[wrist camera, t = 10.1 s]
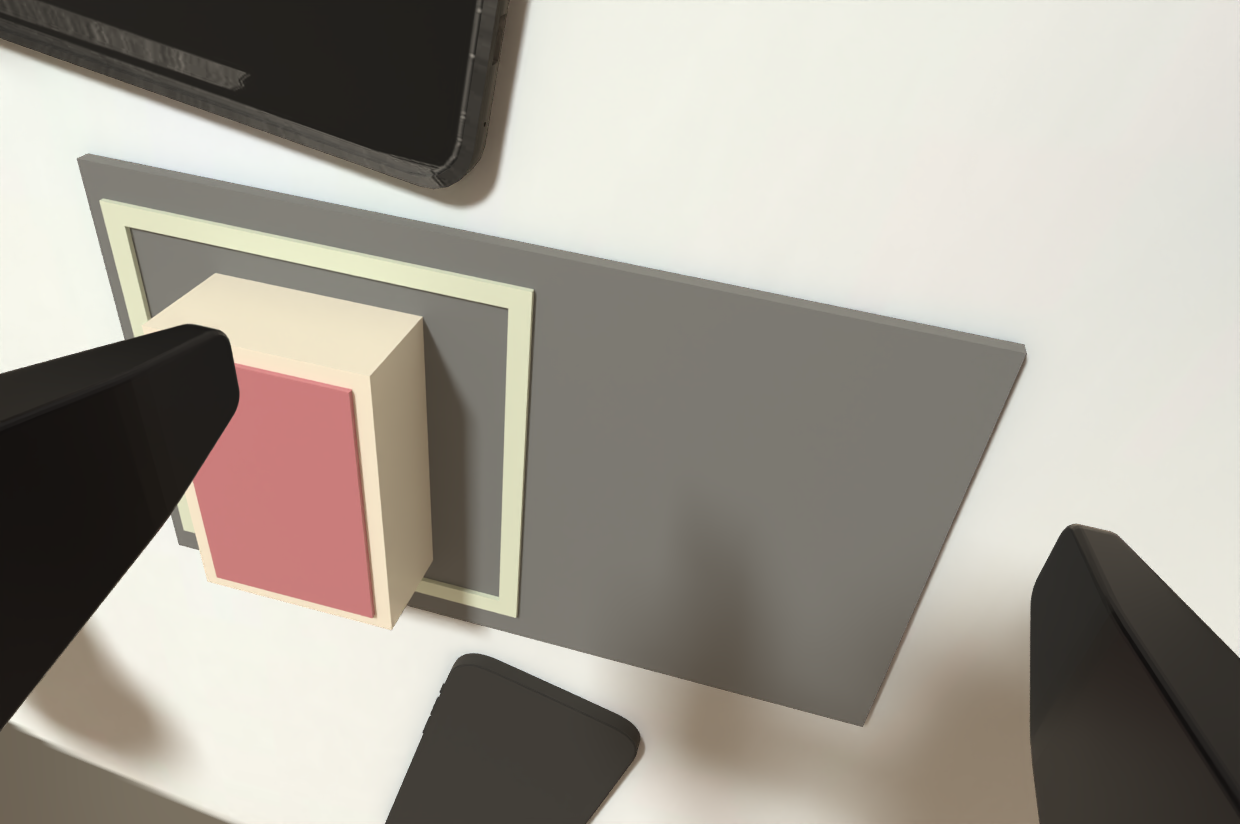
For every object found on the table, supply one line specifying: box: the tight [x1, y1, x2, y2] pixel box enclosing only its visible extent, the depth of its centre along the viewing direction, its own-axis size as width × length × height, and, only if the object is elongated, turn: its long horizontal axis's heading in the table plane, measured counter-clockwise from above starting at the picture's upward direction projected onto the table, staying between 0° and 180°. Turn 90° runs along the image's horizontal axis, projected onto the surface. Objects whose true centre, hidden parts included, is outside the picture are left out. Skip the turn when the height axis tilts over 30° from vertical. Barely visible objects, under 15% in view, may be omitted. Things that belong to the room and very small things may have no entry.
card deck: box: [142, 273, 433, 630], centre depth 25 cm, size 9×6×3 cm, turn 174°
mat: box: [77, 154, 1027, 727], centre depth 26 cm, size 24×14×1 cm, turn 84°
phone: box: [385, 653, 640, 824], centre depth 36 cm, size 7×1×15 cm
